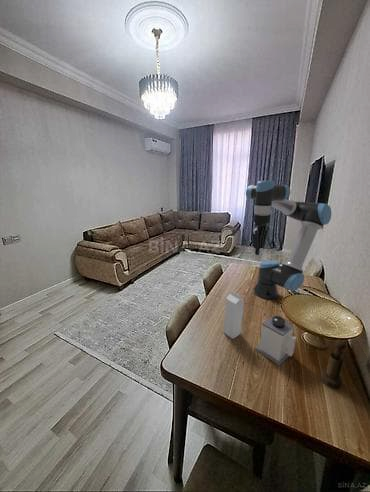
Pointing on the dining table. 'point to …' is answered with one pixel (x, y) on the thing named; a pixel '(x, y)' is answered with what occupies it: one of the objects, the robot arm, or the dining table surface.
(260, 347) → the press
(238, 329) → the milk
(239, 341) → the dining table surface
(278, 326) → the dark gray domed cylinder
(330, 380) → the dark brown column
